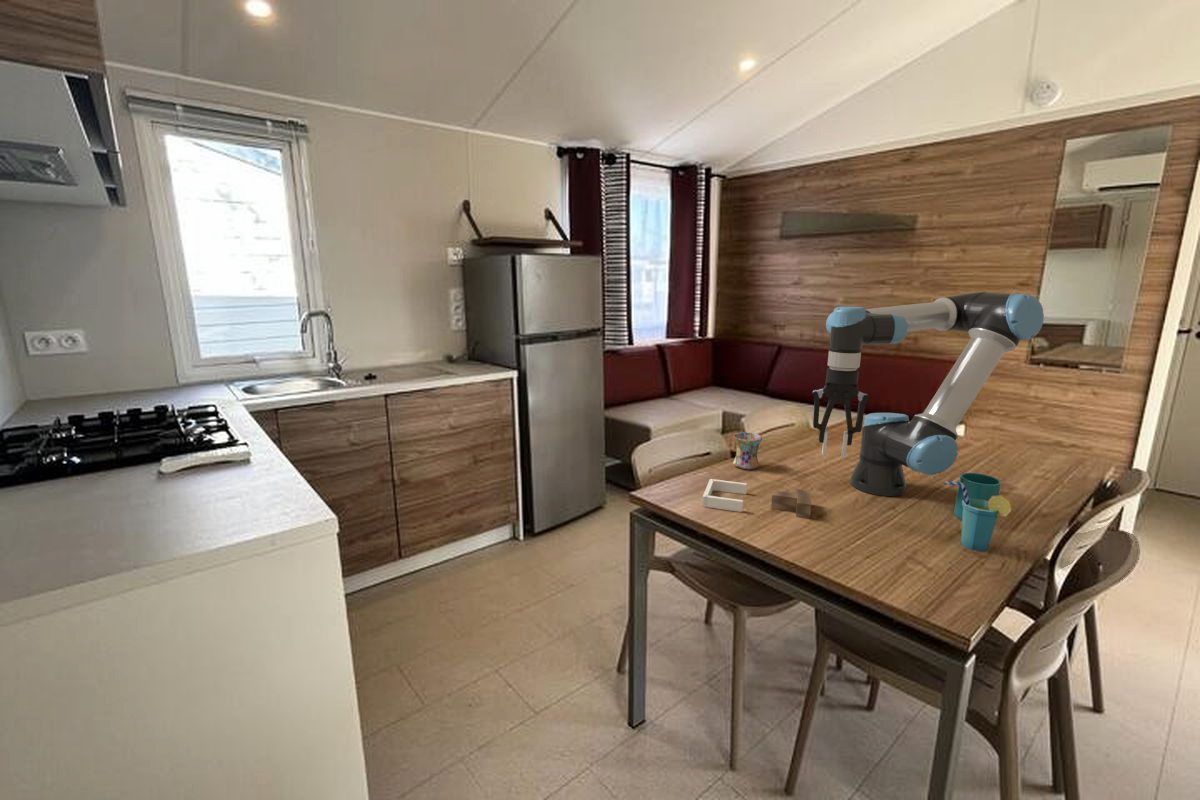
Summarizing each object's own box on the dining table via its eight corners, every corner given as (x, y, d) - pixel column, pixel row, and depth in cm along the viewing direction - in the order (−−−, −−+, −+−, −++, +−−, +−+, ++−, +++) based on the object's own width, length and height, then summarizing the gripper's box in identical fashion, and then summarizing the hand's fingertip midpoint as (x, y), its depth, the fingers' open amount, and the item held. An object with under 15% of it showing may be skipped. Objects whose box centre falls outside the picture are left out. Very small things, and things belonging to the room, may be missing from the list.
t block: (809, 504, 154) (810, 491, 153) (809, 518, 145) (811, 504, 144) (772, 499, 157) (773, 486, 156) (770, 513, 148) (771, 499, 147)
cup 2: (932, 540, 133) (941, 482, 130) (940, 530, 139) (949, 474, 135) (1002, 561, 124) (1014, 499, 120) (1007, 549, 129) (1019, 489, 126)
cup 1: (999, 514, 148) (1006, 475, 145) (990, 529, 139) (998, 487, 137) (960, 505, 154) (966, 467, 151) (950, 518, 146) (956, 478, 143)
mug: (764, 471, 179) (766, 440, 177) (736, 471, 179) (738, 440, 176) (752, 459, 191) (754, 430, 189) (726, 459, 191) (727, 430, 188)
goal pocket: (746, 492, 161) (746, 483, 161) (741, 512, 148) (742, 501, 147) (709, 488, 165) (710, 478, 164) (702, 506, 152) (702, 496, 151)
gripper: (878, 367, 139) (867, 454, 145) (806, 363, 145) (798, 447, 150) (882, 372, 132) (871, 463, 138) (807, 368, 138) (799, 456, 143)
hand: (833, 455), depth 144 cm, fingers open, 4 cm apart
